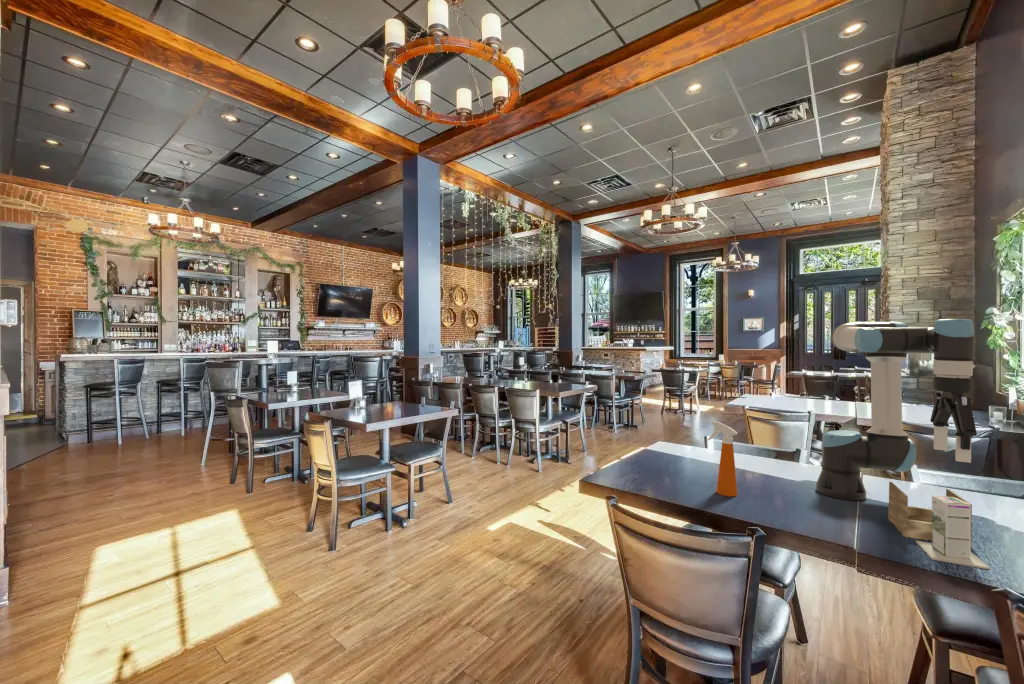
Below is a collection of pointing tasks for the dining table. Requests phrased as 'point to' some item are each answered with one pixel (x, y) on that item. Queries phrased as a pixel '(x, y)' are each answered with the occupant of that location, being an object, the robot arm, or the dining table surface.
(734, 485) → the spray bottle
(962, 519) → the syrup box
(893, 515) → the wooden holder
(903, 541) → the dining table surface
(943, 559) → the mat
